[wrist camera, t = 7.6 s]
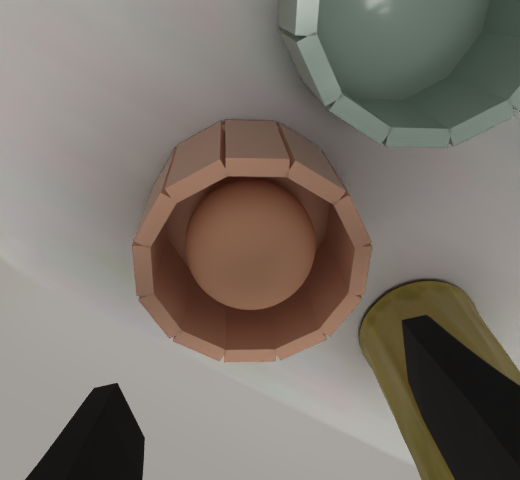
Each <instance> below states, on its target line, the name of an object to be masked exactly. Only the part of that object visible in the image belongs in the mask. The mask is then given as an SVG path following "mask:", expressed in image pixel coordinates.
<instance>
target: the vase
mask: <svg viewBox="0 0 520 480" xmlns="http://www.w3.org/2000/svg"><path fill="white" fill-rule="evenodd" d="M422 315H428V316H429V317H431V318H432V319H433V320H434V321H436V322H437V323H438V324H439V325H440V326H442V327H443V328H444V329H445V330H446V331H448V332H449V333H450V334H451V335H452V336H454V337H455V338H456V339H457V340H459V341H460V342H461V343H462V344H464V345H465V346H466V347H467V348H469V349H470V350H471V351H473V352H474V353H475V354H477V355H478V356H479V357H480V358H482V359H483V360H485V361H486V362H487V363H489V364H490V365H491V366H493V367H494V368H495V369H497V370H498V371H500V372H501V373H502V374H504V375H505V376H507V377H508V378H510V379H511V380H512V381H514V382H515V383H517V384H518V385H520V371H519V370H518V368H517V367H516V366H515V364H514V363H513V361H512V360H511V358H510V357H509V356H508V354H507V353H506V351H505V350H504V349H503V347H502V346H501V345H500V343H499V342H498V341H497V339H496V338H495V337H494V335H493V334H492V333H491V331H490V330H489V329H488V327H487V326H486V324H485V323H484V322H483V320H482V319H481V317H480V315H479V313H478V312H477V309H476V307H475V305H474V303H473V302H472V300H471V299H470V298H469V296H468V295H467V294H466V293H465V292H463V291H462V290H461V289H459V288H458V287H456V286H453V285H451V284H448V283H444V282H439V281H420V282H414V283H410V284H407V285H404V286H401V287H399V288H396V289H394V290H392V291H391V292H389V293H387V294H386V295H385V296H383V297H382V298H381V299H380V300H379V301H377V302H376V304H375V305H374V306H373V307H372V308H371V309H370V310H369V312H368V313H367V315H366V316H365V318H364V320H363V323H362V326H361V329H360V335H359V341H360V347H361V350H362V353H363V355H364V357H365V358H366V360H367V362H368V363H369V365H370V366H371V368H372V369H373V371H374V374H375V376H376V378H377V380H378V383H379V385H380V387H381V389H382V392H383V394H384V396H385V398H386V400H387V402H388V405H389V407H390V409H391V411H392V413H393V415H394V417H395V420H396V422H397V424H398V427H399V429H400V432H401V434H402V436H403V438H404V440H405V443H406V445H407V447H408V449H409V451H410V453H411V455H412V457H413V460H414V462H415V464H416V467H417V469H418V472H419V474H420V477H421V479H422V480H455V479H454V477H453V475H452V473H451V471H450V470H449V468H448V466H447V464H446V462H445V460H444V458H443V456H442V455H441V453H440V451H439V449H438V447H437V445H436V443H435V441H434V440H433V438H432V436H431V434H430V432H429V430H428V428H427V426H426V424H425V422H424V420H423V418H422V416H421V413H420V411H419V408H418V406H417V403H416V401H415V398H414V396H413V393H412V390H411V388H410V385H409V383H408V377H407V368H406V358H405V349H404V339H403V330H402V321H401V320H404V319H409V318H413V317H418V316H422Z"/></svg>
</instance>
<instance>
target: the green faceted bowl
mask: <svg viewBox="0 0 520 480" xmlns="http://www.w3.org/2000/svg"><path fill="white" fill-rule="evenodd" d="M277 25H279V26H280V27H281V29H279V33H280V35H281V37H282V39H283V41H284V43H285V45H286V48H287V50H288V52H289V54H290V56H291V58H292V61H293V63H294V65H295V67H296V69H297V71H298V74H299V76H300V78H301V80H302V81H303V82H304V83H305V84H306V85H307V87H308V88H309V89H310V90H311V91H312V92H313V93H314V94H315V96H316V97H317V98H318V99H319V100H320V101H321V102H322V103H323V105H324V106H325V107H326V108H327V109H328V110H329V111H330V112H331V113H333V114H334V115H336V116H338V117H339V118H341V119H342V120H344V121H345V122H347V123H348V124H350V125H351V126H353V127H354V128H356V129H357V130H359V131H360V132H362V133H363V134H365V135H366V136H368V137H369V138H371V139H372V140H374V141H375V142H377V143H378V144H380V145H381V143H383V144H384V145H385V146H386V147H435V148H448V144H451V145H452V146H455V145H457V144H459V143H461V142H463V141H465V140H467V139H469V138H471V137H473V136H475V135H477V134H480V133H482V132H484V131H486V130H488V129H490V128H492V127H494V126H496V125H498V124H500V123H502V122H504V121H506V120H508V119H510V118H512V117H514V116H515V114H514V110H513V109H515V110H518V111H520V0H279V1H278V20H277Z"/></svg>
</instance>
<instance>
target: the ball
mask: <svg viewBox="0 0 520 480" xmlns="http://www.w3.org/2000/svg"><path fill="white" fill-rule="evenodd" d="M315 248H316V239H315V232H314V228H313V224H312V221H311V219H310V216H309V215H308V213H307V211H306V209H305V208H304V206H303V205H302V204H301V203H300V201H299V200H298V199H297V198H296V197H295V196H294V195H292V194H291V193H290V192H289V191H287V190H286V189H284V188H283V187H281V186H279V185H277V184H274V183H271V182H268V181H263V180H258V179H243V180H236V181H233V182H229V183H227V184H224V185H222V186H220V187H218V188H217V189H215V190H213V191H212V192H211V193H209V194H208V195H207V196H206V197H205V198H204V199H203V200H202V201H201V202H200V203H199V205H198V206H197V207H196V209H195V210H194V212H193V214H192V216H191V218H190V220H189V223H188V226H187V230H186V235H185V254H186V259H187V263H188V266H189V269H190V271H191V273H192V275H193V277H194V278H195V280H196V282H197V283H198V284H199V286H200V287H201V288H202V289H203V290H204V291H205V292H206V293H207V294H208V295H209V296H211V297H212V298H213V299H215V300H216V301H218V302H220V303H222V304H224V305H227V306H230V307H233V308H237V309H243V310H258V309H264V308H268V307H271V306H274V305H276V304H278V303H280V302H282V301H284V300H286V299H287V298H289V297H290V296H291V295H293V294H294V293H295V292H296V291H297V290H298V289H299V288H300V286H301V285H302V284H303V282H304V281H305V280H306V278H307V276H308V274H309V272H310V270H311V267H312V264H313V261H314V257H315Z"/></svg>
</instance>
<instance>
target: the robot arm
mask: <svg viewBox="0 0 520 480" xmlns="http://www.w3.org/2000/svg"><path fill="white" fill-rule="evenodd" d="M401 321H402V330H403V339H404V349H405V358H406V368H407V377H408V383H409V385H410V388H411V390H412V393H413V396H414V398H415V401H416V403H417V406H418V408H419V411H420V413H421V416H422V418H423V420H424V422H425V424H426V426H427V428H428V430H429V432H430V434H431V436H432V438H433V440H434V441H435V443H436V445H437V447H438V449H439V451H440V453H441V455H442V456H443V458H444V460H445V462H446V464H447V466H448V468H449V470H450V471H451V473H452V475H453V477H454V479H455V480H520V385H518V384H517V383H515V382H514V381H512V380H511V379H510V378H508V377H507V376H505V375H504V374H502V373H501V372H500V371H498V370H497V369H495V368H494V367H493V366H491V365H490V364H489V363H487V362H486V361H485V360H483V359H482V358H480V357H479V356H478V355H477V354H475V353H474V352H473V351H471V350H470V349H469V348H467V347H466V346H465V345H464V344H462V343H461V342H460V341H459V340H457V339H456V338H455V337H454V336H452V335H451V334H450V333H449V332H448V331H446V330H445V329H444V328H443V327H442V326H440V325H439V324H438V323H437V322H436V321H434V320H433V319H432V318H431V317H429V316H428V315H422V316H418V317H413V318H409V319H404V320H401ZM144 441H145V438H144V436H143V434H142V432H141V430H140V428H139V426H138V423H137V421H136V419H135V418H134V415H133V413H132V412H131V409H130V407H129V405H128V404H127V401H126V400H125V397H124V396H123V393H122V391H121V389H120V388H119V385H118V383H115V384H110V385H106V386H101V387H97V388H94V389H93V390H92V392H91V393H90V394H89V395H88V397H87V398H86V399H85V401H84V402H83V403H82V405H81V406H80V407H79V409H78V410H77V412H76V413H75V414H74V416H73V417H72V418H71V420H70V421H69V423H68V424H67V425H66V427H65V428H64V429H63V431H62V432H61V434H60V435H59V436H58V438H57V439H56V440H55V442H54V443H53V444H52V446H51V447H50V449H49V450H48V451H47V452H46V454H45V455H44V456H43V458H42V459H41V460H40V462H39V463H38V464H37V466H36V467H35V468H34V469H33V470H32V472H31V473H30V474H29V476H28V477H27V478H26V479H25V480H142V476H143V462H144Z"/></svg>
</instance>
